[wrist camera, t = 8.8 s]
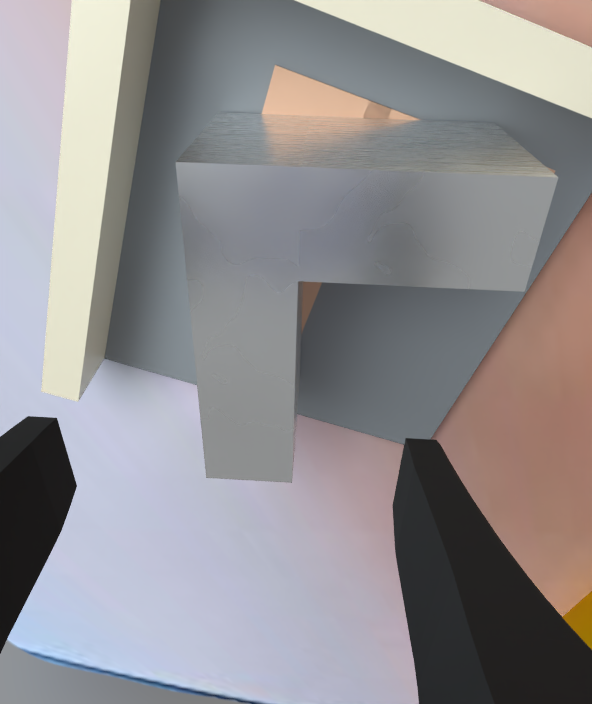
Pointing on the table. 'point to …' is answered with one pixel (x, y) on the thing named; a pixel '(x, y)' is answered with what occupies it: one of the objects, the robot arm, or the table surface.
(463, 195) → the bracket
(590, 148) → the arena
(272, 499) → the table surface
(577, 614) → the element tile
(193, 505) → the table surface
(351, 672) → the table surface
